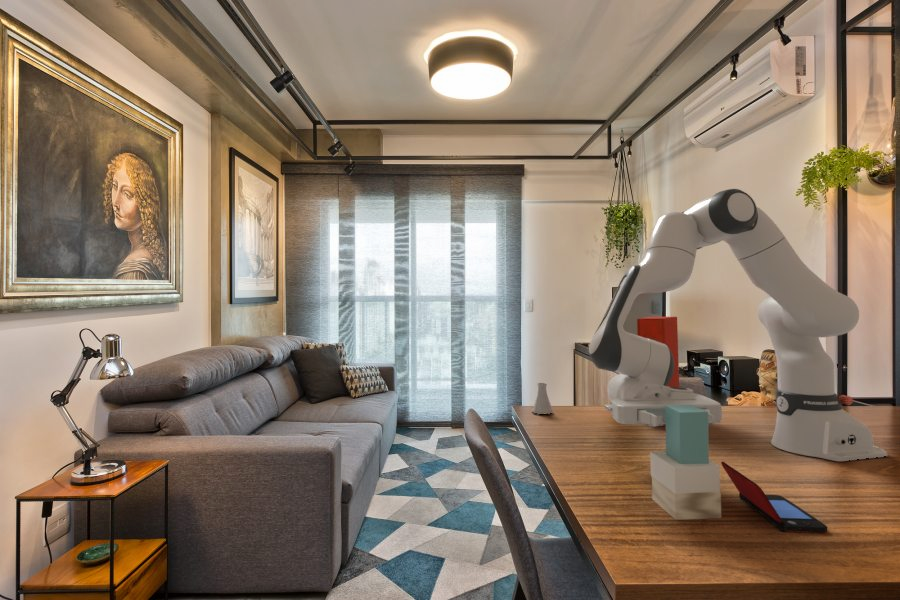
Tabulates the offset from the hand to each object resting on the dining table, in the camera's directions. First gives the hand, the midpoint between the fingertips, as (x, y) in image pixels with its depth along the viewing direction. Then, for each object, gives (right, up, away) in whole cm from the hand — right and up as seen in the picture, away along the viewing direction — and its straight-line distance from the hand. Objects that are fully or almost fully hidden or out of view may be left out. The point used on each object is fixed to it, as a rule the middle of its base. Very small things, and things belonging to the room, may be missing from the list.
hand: (685, 421), depth 80 cm
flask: (-11, -17, +69) cm, 72 cm away
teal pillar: (0, -7, -1) cm, 7 cm away
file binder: (+24, -16, +60) cm, 66 cm away
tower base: (0, -16, 0) cm, 16 cm away
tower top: (0, -11, 0) cm, 11 cm away
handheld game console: (+13, -16, -3) cm, 21 cm away
